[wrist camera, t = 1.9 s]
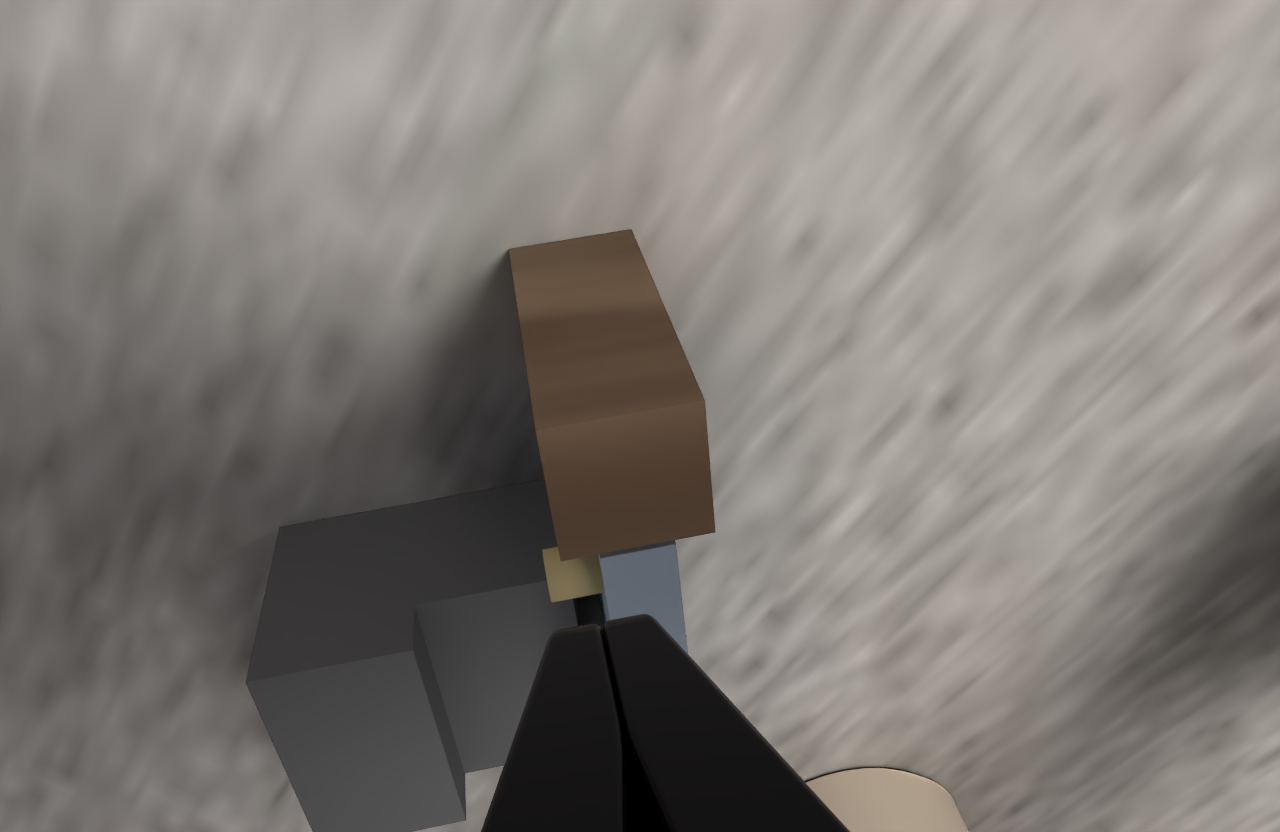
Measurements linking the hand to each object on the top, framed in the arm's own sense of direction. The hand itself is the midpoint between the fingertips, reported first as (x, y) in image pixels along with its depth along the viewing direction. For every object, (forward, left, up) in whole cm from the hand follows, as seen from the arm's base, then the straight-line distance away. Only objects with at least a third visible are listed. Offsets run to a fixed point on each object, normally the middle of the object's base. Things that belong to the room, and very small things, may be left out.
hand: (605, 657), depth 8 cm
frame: (-8, +6, -12) cm, 16 cm away
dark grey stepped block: (-4, +9, -12) cm, 16 cm away
